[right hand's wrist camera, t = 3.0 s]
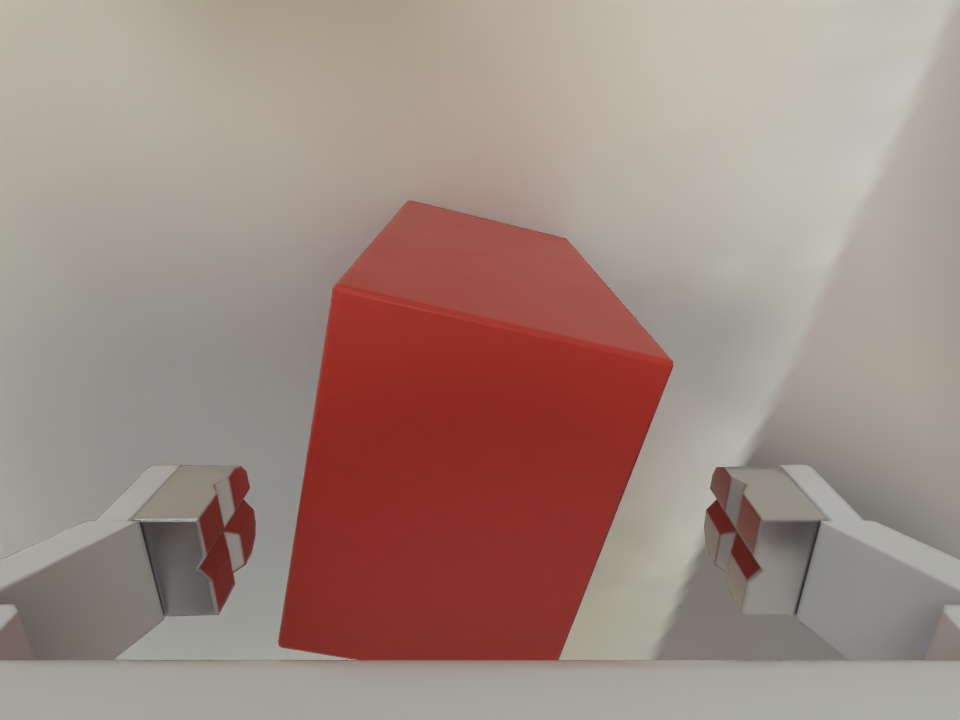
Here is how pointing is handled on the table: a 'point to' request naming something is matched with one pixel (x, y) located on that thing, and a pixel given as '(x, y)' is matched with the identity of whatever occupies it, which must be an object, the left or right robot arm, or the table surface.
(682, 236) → the table surface
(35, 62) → the table surface
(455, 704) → the right robot arm
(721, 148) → the table surface
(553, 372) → the block
